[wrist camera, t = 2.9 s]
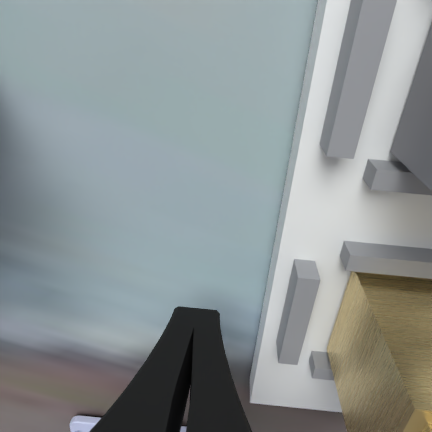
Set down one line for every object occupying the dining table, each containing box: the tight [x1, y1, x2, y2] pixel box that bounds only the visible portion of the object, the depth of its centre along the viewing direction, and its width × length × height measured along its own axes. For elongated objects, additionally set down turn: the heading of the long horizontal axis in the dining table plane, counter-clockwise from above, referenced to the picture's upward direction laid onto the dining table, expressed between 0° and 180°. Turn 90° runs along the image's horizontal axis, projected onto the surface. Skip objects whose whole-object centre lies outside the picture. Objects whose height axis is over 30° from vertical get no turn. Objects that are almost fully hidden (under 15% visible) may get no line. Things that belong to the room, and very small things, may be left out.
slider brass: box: [327, 271, 432, 432], centre depth 11 cm, size 4×3×6 cm
